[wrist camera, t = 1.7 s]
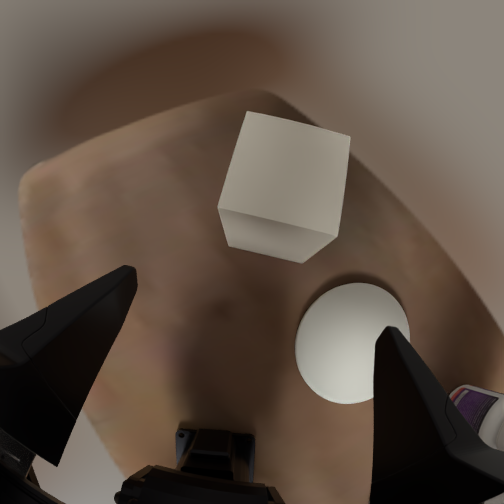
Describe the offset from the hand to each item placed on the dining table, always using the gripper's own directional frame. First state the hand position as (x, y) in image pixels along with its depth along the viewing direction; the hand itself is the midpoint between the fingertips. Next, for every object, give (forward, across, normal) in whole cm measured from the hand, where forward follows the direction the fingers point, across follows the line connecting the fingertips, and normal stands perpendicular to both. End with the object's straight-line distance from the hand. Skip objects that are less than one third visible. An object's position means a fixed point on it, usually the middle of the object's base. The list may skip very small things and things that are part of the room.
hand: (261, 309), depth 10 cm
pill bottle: (+5, -23, +14) cm, 28 cm away
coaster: (+8, -9, +10) cm, 16 cm away
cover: (+14, 0, +4) cm, 15 cm away
